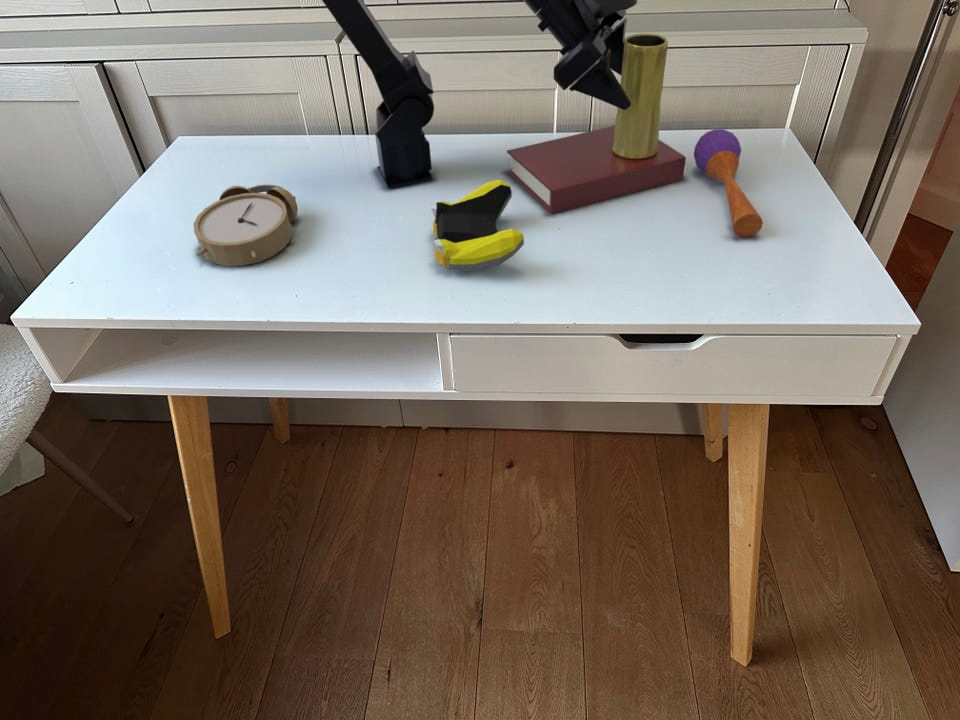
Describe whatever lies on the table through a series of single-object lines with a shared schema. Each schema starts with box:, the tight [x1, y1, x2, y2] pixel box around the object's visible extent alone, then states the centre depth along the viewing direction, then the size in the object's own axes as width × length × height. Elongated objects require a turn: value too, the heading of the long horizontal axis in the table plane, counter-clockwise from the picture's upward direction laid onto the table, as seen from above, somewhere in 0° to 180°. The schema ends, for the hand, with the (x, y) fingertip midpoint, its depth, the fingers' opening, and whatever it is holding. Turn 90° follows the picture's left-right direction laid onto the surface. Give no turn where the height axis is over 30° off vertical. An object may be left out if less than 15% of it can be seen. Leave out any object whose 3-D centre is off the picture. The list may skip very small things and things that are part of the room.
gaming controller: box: [430, 179, 525, 271], centre depth 85 cm, size 15×6×10 cm
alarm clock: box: [193, 184, 299, 267], centre depth 90 cm, size 11×5×15 cm
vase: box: [612, 33, 669, 159], centre depth 93 cm, size 6×6×14 cm
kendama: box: [693, 128, 764, 239], centre depth 91 cm, size 6×6×20 cm
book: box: [506, 125, 687, 215], centre depth 98 cm, size 20×13×3 cm, turn 113°
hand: (633, 93), depth 93 cm, fingers open, 9 cm apart
